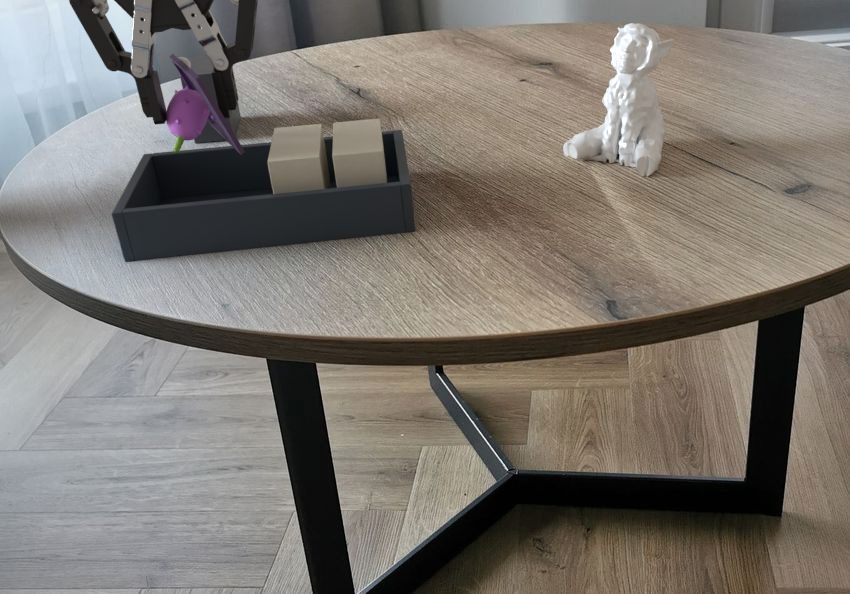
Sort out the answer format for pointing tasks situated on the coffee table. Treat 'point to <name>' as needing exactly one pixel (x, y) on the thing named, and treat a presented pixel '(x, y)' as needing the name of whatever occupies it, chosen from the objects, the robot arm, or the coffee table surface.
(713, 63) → the coffee table surface
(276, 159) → the cream box
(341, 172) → the cream box
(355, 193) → the tray
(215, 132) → the grey box
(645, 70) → the seated beast figurine
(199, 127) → the purple bumpy fruit toy
